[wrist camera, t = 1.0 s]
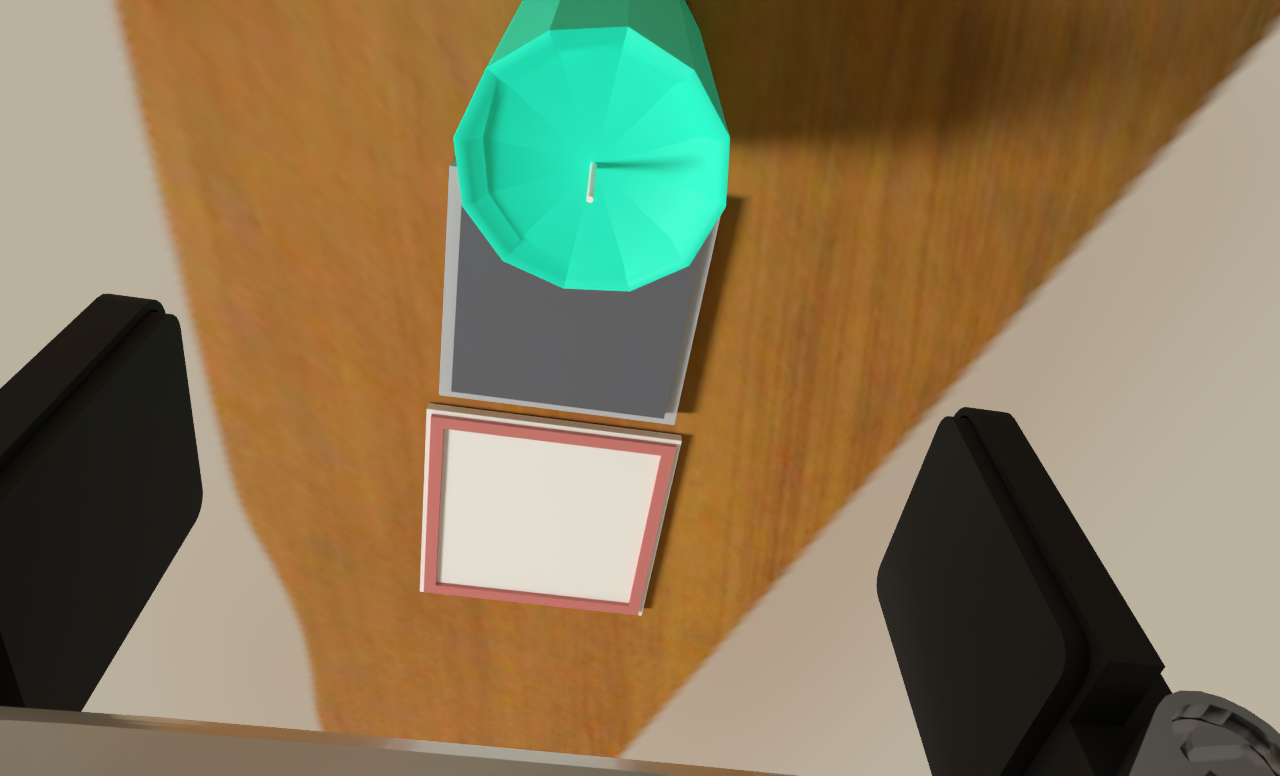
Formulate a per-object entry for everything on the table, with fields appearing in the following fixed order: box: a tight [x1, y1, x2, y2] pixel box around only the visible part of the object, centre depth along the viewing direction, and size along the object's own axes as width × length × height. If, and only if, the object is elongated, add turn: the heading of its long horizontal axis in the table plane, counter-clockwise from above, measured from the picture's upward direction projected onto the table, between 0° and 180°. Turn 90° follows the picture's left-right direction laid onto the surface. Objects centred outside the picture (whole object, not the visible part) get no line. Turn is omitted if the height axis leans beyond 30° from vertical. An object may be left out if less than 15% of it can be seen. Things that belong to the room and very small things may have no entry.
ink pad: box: [439, 158, 721, 425], centre depth 32 cm, size 9×9×1 cm
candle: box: [453, 0, 730, 291], centre depth 23 cm, size 6×6×12 cm
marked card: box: [420, 403, 682, 615], centre depth 38 cm, size 10×10×1 cm
